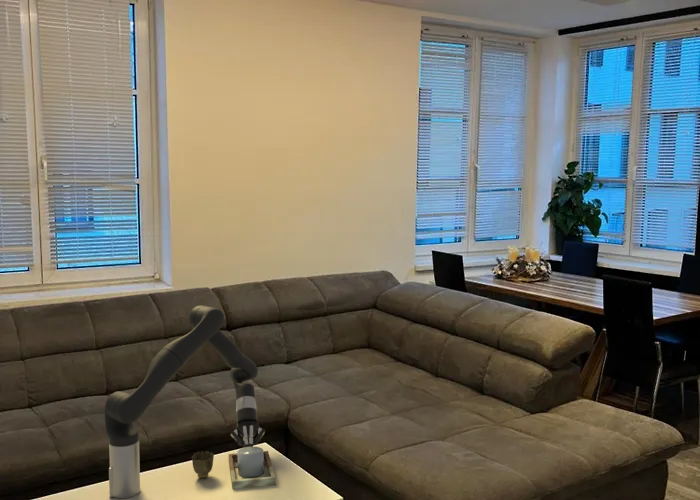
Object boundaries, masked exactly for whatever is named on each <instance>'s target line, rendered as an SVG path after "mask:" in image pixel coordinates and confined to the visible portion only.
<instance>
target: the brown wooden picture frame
mask: <svg viewBox="0 0 700 500" xmlns="http://www.w3.org/2000/svg"><path fill="white" fill-rule="evenodd" d="M269 453H270V452H269V450H263V455H264V466H266V467H267V472H268V475H269V476H265V477H264V476H263V477H249V478H242V479H236V474H235V473H236V472H235V468H237V469H238V454H237V452H236V453H228V467H229V474H230V480H231V481H230V484H231V488H232V489H233V490H236V489H247V488H258V487H267V486H269V487H270V486H276V481H277V480H276V475H275V471H274V468H273V463H272V460H271V457H270V454H269Z"/></svg>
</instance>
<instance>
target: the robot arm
mask: <svg viewBox="0 0 700 500" xmlns="http://www.w3.org/2000/svg"><path fill="white" fill-rule="evenodd" d="M188 320H189V323H190V325H191V328H193V329H192V330H190V331H189V332H188V333H186V334H184V335H183V336H180V337H179V338H177V339H174V340H173V341H171V342H169V343H168V344H166V345H164V346H163V347H162V348H161V350H159V352H158V353H156V355H155V356H154V357H153V358H152V360H151V362H150V363H149V366H148V369H147V372H146V374H145V375H146V376H145V377H144V380H143V381H142V382H141V384H139V386H138V387H137V388H135V390H134V391H133V392H132V393H128V392H126V391H114V392H113V393H111V394H110V395H109V396H108V397H107V399H106V401H105V404H104V421H105V422H104V423H105V433H106V435H107V437H108V447H109V448H108V449H109V450H108V451H109V467H108V482H109V483H108V484H109V489H108V490H109V498H116V499H127V498H131V497H134V496H136V495H137V494H139V493H140V491H141V475H140V474H141V473H140V471H141V470H140V468H141V467H140V466H141V465H140V432H139V431H138V429H137V428H136V427H135V425H134V423H135V422H137V421H138V420H139V419H140V418H141V417H142V416H143V414H144V413H145V412H146V411H147V409H148V407H149V406H150V404H152V402H153V401H154V399H155V398H156V397H157V395H159V394H160V392H161V391H162V390H163V389H164V388H165V387H166V385H167V384H168V383H169V382H170V381H171V380H172V379H173V377H175V375H177V373H178V372H179V371H180V370H181V369H182V368H183V367H184V366H185V364H186V363H187V362H188V361H189V360H190V359H191V357H192V356H194V354H195V353H196V352H197V351H198V350H199V349H200V348H202V346H203V345H204V344H205V343H206V342H208V343H209V344H210V345H211V346H212V348H214V350H215V351H216V352H217V354H218V355H219V356H220V357H221V359H222V360H223V362H224V363H225V365H226V366H227V367H229V368H230V372H229V374H230V378H231V381H232V384H233V386H234V390H235V399H236V400H235V401H236V403H235V408H236V409H235V413H236V427H235V429H234V430H231V431H230V436H231V438H232V439H233V440H234V441H235V442H236V443H237V444H238V446H240V447H243V448H245V447H254V446H256V445H258V443H259V442H260V441H261V439H262V438H263V436H264V435H265V432H266V429H265V428H262V427H260V424H259V423H258V411H257V402H256V394H255V386H254V385H253V384H251V383H244V382H248V381H251V380H253V379H254V380H255V379H256V378H257V377H258V374H259V368H258V366H257V364H256V363H255V362H254V361H253V360H252V359H251V358H249V357H248V356H246V355H245V354H243V353H242V351H241V350H240V348H239V347H238V346H237V344H236V343H235V342H234V341H233V340H232V339H231V338H229V337H228V336H227V335H226V334H224V332H222V331H221V330H220V329H221V328H222V326H223V324H224V321H225V315H224V313H223V311H222V310H221V309H219V308H217V307H211V306H208V305H197V306H195V307H193V308H192V309H191V311H190V312H189V318H188ZM238 434H239V435H238ZM257 434H258V435H257ZM255 435H256V437H255ZM240 436H241V437H240ZM254 437H255V438H254Z"/></svg>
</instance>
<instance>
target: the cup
mask: <svg viewBox="0 0 700 500" xmlns="http://www.w3.org/2000/svg"><path fill="white" fill-rule="evenodd" d="M214 454H215V453H213V452H212V451H211V452H210V451H209V450H208V451H207V450H205V451H204V450H202V451H201V452H200V451H197V452H196V453H195V452H194V453H193V455H191V461H192V468H193V471H194V473H195V474H197V478H198V479H201V480H202V479H204V480H205V479H207V478H208V477H209V473H210V472H211V471H212V469H213V465H214V456H215V455H214Z"/></svg>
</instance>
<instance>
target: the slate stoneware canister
mask: <svg viewBox="0 0 700 500" xmlns="http://www.w3.org/2000/svg"><path fill="white" fill-rule="evenodd" d="M263 451H264V449H263V448H262V447H259V446H253V447H241V448H240V449H238V450H237V452H236V453H237V454H238V461H237V462H238V467H237V475H239V476H240V477H243V478H257V477H258V476H261V475H263V474H264V472H265V465H264V461H265V459H264V455H263Z"/></svg>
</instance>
